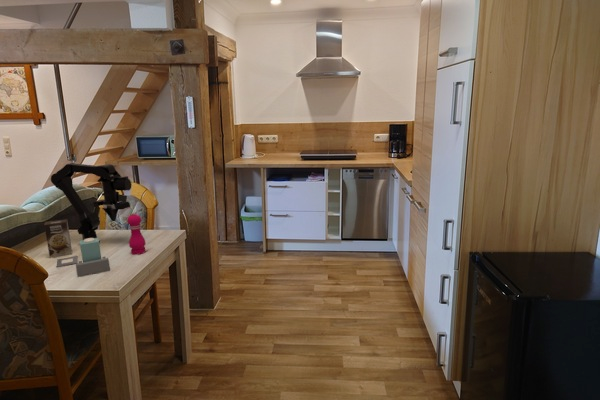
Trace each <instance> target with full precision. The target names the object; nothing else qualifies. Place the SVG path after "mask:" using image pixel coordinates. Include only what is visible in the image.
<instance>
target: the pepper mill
mask: <svg viewBox="0 0 600 400" xmlns="http://www.w3.org/2000/svg"><path fill="white" fill-rule="evenodd" d="M126 222H127V223H128V225H129V226H128V227H129V230H130V233H131V234H130V238H129V242H128V246H129V248H130V253H131V255H133V256H134V255H135V256H136V255H141V254H142V255H143V254H144V253H146V239H145V237H144V236H143V234H142V232H141V228H142V224H141V222H142V217H141V216H140V215H138V214H136V212H135V211H132V212H131V215H129V216H128V217H127V221H126Z"/></svg>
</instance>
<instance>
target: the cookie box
mask: <svg viewBox="0 0 600 400" xmlns="http://www.w3.org/2000/svg"><path fill="white" fill-rule="evenodd" d="M43 224H44V232H45V237H46V243H47V248H48V255H49V258H50V259H53V258H57V257H62V256H69V255H73V254H72V253H73V248H72V247H73V246H72V241H71V237H70V229H69V223H68V218H67V219H59V220H58V219H57V220H51V221H45V222H44V223H43Z"/></svg>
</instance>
